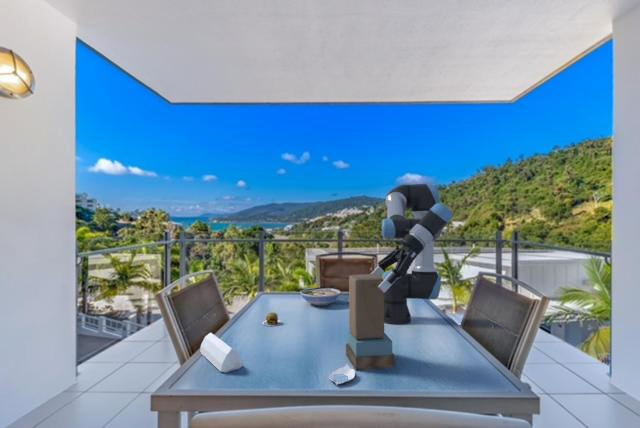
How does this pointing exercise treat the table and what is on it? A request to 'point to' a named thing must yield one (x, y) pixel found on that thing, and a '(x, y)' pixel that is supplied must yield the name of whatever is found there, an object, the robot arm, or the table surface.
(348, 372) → the pale veined leaf
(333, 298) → the ramen bowl
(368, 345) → the grey teal block
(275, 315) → the hamburger
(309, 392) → the table surface
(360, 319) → the wooden block
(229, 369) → the crystal
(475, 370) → the table surface
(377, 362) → the tower base
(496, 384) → the table surface
